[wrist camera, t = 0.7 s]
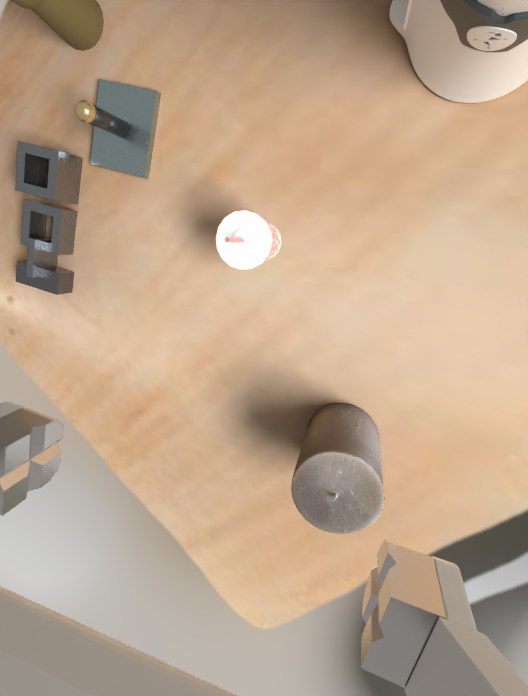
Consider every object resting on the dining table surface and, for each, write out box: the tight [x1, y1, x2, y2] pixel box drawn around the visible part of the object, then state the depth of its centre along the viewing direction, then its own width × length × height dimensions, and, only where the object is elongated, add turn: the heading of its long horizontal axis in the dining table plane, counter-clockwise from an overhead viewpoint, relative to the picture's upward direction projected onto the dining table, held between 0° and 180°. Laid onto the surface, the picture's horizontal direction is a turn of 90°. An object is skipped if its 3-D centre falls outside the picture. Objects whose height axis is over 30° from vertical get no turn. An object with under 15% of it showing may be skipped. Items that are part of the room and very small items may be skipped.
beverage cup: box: [216, 210, 281, 270], centre depth 45 cm, size 6×6×14 cm
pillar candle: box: [291, 404, 385, 534], centre depth 48 cm, size 10×10×15 cm
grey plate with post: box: [75, 79, 161, 178], centre depth 48 cm, size 10×8×9 cm
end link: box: [15, 141, 83, 204], centre depth 54 cm, size 6×6×4 cm
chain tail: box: [16, 199, 77, 295], centre depth 57 cm, size 12×7×4 cm, turn 166°
